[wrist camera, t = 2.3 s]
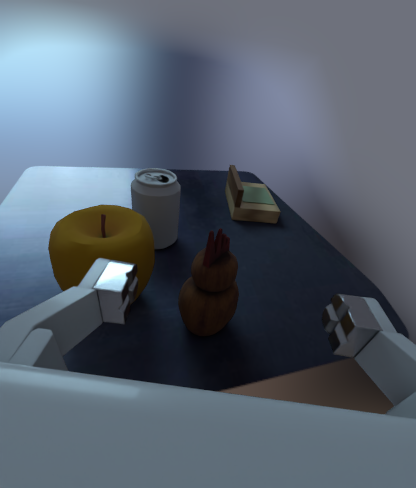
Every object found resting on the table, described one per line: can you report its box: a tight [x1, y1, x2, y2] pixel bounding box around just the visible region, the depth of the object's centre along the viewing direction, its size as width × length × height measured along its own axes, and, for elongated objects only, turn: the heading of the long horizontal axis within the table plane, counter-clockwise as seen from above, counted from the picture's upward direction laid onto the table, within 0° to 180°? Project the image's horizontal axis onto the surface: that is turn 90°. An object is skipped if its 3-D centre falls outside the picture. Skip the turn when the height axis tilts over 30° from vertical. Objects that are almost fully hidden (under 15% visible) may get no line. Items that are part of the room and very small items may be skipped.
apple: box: [48, 205, 155, 305], centre depth 29 cm, size 11×11×13 cm
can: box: [131, 168, 180, 249], centre depth 41 cm, size 8×8×12 cm
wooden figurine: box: [178, 228, 239, 336], centre depth 27 cm, size 7×6×15 cm
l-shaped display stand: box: [225, 165, 280, 223], centre depth 57 cm, size 10×14×7 cm
